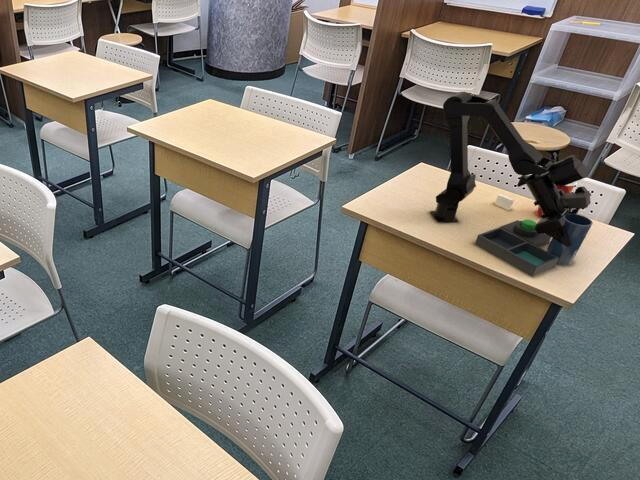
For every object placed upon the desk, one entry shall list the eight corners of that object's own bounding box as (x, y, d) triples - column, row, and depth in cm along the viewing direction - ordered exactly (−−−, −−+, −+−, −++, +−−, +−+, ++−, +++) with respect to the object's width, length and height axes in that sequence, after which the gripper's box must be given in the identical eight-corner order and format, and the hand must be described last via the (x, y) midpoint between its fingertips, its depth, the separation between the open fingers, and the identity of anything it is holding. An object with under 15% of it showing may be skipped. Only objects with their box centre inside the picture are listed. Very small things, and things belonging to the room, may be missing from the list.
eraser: (496, 203, 183) (500, 193, 181) (510, 209, 179) (514, 199, 177) (494, 204, 182) (497, 194, 180) (508, 210, 179) (512, 200, 177)
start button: (517, 226, 164) (520, 221, 163) (525, 223, 165) (528, 218, 164) (529, 231, 162) (531, 226, 161) (537, 228, 163) (539, 223, 162)
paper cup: (563, 222, 172) (583, 182, 164) (537, 220, 173) (555, 180, 165) (554, 210, 178) (572, 171, 170) (528, 208, 180) (545, 169, 171)
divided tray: (474, 244, 163) (478, 234, 161) (495, 236, 166) (499, 226, 164) (532, 277, 150) (537, 267, 148) (554, 267, 153) (559, 257, 151)
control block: (497, 232, 168) (502, 221, 166) (515, 226, 171) (519, 214, 169) (531, 249, 160) (536, 238, 158) (548, 243, 163) (554, 231, 161)
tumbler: (539, 252, 159) (558, 213, 152) (562, 252, 159) (582, 213, 152) (552, 265, 154) (572, 225, 146) (577, 265, 154) (598, 225, 146)
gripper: (566, 192, 140) (597, 245, 140) (587, 169, 150) (616, 218, 150) (521, 208, 149) (550, 258, 149) (544, 186, 159) (571, 232, 159)
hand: (573, 241), depth 152 cm, fingers closed on tumbler, 7 cm apart
